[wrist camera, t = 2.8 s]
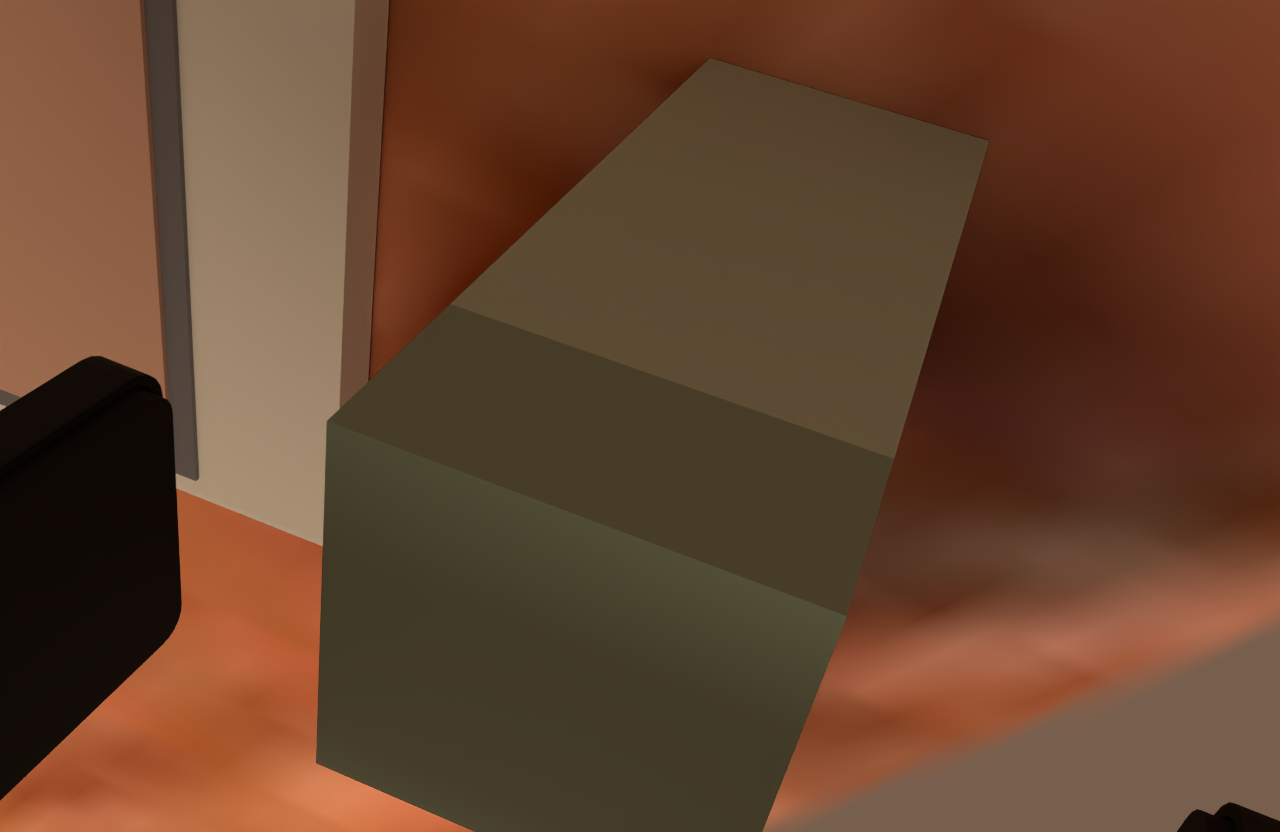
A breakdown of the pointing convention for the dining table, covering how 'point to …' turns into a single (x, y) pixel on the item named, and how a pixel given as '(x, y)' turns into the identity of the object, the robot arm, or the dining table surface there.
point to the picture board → (198, 221)
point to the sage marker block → (638, 471)
